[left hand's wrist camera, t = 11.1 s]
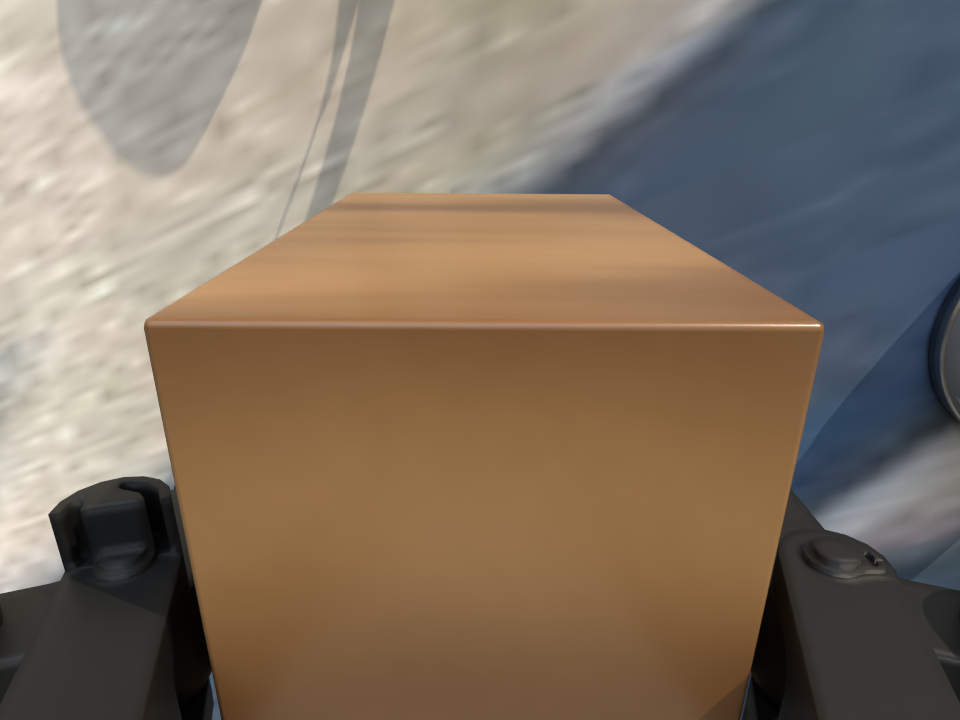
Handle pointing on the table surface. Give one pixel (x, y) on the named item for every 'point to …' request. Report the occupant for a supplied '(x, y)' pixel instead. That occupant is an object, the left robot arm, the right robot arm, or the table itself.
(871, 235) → the table surface
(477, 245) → the beam
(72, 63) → the table surface
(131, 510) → the left robot arm
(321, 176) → the table surface
